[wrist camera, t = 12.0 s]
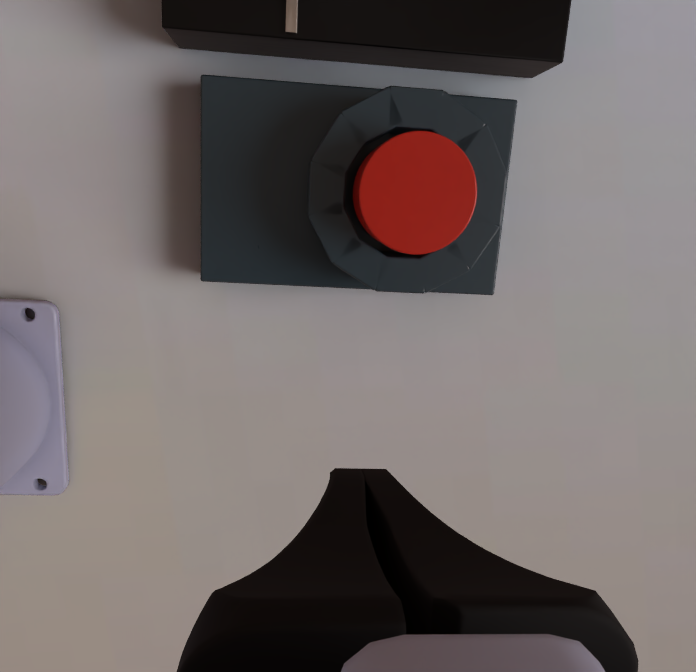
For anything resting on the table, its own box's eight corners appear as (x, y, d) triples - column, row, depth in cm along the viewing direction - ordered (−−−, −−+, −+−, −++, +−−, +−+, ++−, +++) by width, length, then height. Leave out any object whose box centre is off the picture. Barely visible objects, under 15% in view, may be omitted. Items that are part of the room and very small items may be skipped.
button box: (206, 275, 22) (190, 290, 19) (207, 82, 21) (189, 60, 17) (481, 289, 23) (513, 305, 20) (503, 106, 22) (541, 89, 18)
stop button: (349, 245, 19) (354, 251, 17) (356, 133, 18) (362, 125, 16) (453, 251, 20) (470, 257, 18) (464, 141, 19) (484, 135, 17)
